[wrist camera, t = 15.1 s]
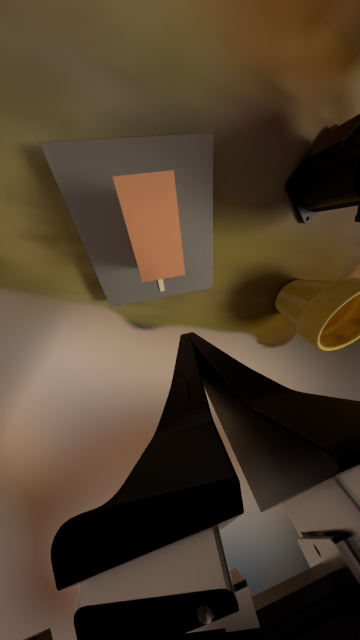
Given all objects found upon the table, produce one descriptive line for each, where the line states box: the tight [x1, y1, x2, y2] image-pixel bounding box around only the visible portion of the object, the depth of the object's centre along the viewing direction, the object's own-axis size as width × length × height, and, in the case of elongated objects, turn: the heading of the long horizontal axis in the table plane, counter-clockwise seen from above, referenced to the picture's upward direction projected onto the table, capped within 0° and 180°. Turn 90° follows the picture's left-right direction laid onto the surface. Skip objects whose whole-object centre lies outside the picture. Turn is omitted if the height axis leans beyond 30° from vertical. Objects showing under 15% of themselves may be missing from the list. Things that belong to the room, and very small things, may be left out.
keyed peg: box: [113, 170, 185, 283], centre depth 13 cm, size 6×4×9 cm, turn 8°
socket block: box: [39, 133, 213, 307], centre depth 16 cm, size 14×14×3 cm
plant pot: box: [275, 278, 360, 351], centre depth 22 cm, size 10×10×10 cm
